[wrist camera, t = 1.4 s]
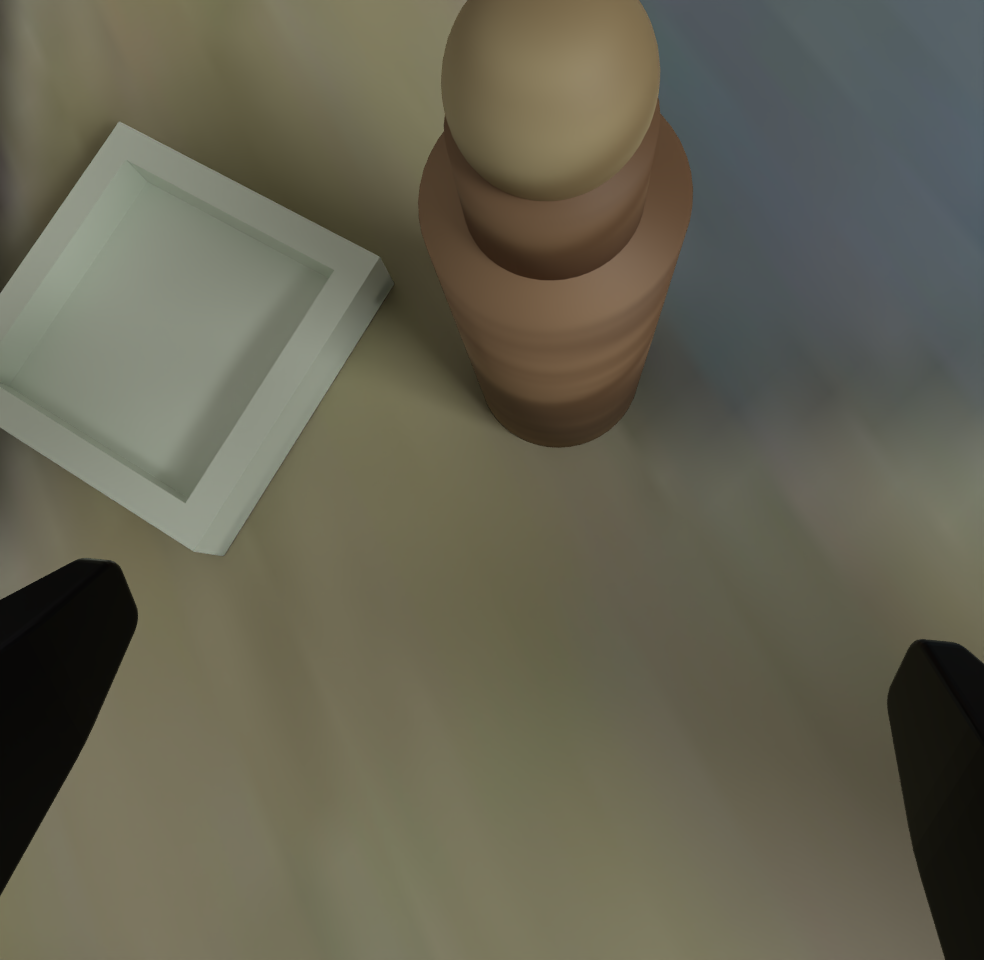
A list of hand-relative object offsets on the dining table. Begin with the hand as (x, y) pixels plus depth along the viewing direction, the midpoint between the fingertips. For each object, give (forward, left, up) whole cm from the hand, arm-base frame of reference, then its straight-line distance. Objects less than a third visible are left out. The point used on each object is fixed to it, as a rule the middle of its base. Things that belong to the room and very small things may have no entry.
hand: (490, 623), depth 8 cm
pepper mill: (+7, +3, -13) cm, 15 cm away
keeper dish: (+2, +14, -13) cm, 19 cm away
